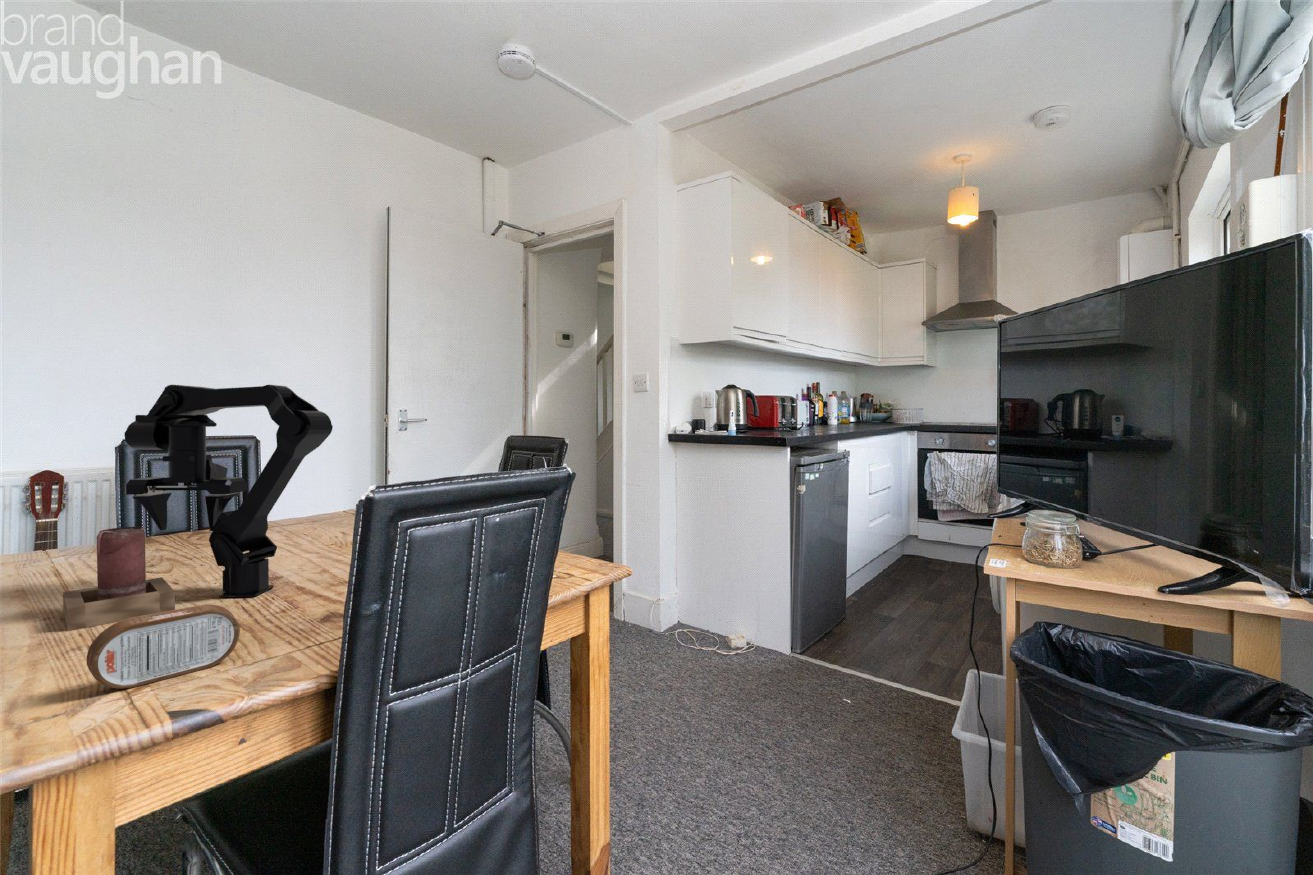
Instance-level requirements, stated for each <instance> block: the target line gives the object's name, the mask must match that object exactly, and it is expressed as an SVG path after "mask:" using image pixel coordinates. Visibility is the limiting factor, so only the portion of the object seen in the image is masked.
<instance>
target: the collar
mask: <svg viewBox="0 0 1313 875" xmlns="http://www.w3.org/2000/svg"><path fill="white" fill-rule="evenodd" d="M175 593H176V592H175V590H174V588H172V586H171V585H170V584H169V583H168V582H167V581H166V580H165V579H164V578H163V577H155V578H150V579H149V578H148V579H146V593H144V594H138V595H131V596H125V597H119V598H113V599H107V600H101V601H98V586H96V587H89V588H83V589H82V588H81V589H76V590H70V591H63V592H62V612H63V617H64V621H65V625H66V630H67V632H69V631H75V630H78V629H85V628H89V627H90V628H91V627H96V626H102V625H106V624H112V623H113V624H114V623H117V622H119V621H122V620H125V619H128V618H133V617H138V616H144V615H149V614H155V613H161V612H166V611H172V610H176V602H175V601H176V597H175V596H176V594H175Z"/></svg>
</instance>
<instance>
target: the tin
mask: <svg viewBox="0 0 1313 875" xmlns="http://www.w3.org/2000/svg"><path fill="white" fill-rule="evenodd" d="M240 634H241V629H240V624H239V621H238V620H237V619H236V617H235V615H234V614H233V613H232V612H231V611H230V610H229V609H227V608H226V607H224V606H222V605H219V604H200V605H194V606H189V607H183V608H178V609H175V610H172V611H166V612H161V613H155V614H149V615H144V616H138V617H133V618H128V619H125V620H122V621H118V622H114V623H113V624H112V625H110V626H108V627H107V628H105V629H104V630H102V631H101V632H100V633H99V634H98V635H97V636H96V637H95V639H94V640H93V641H92V643H91V644H90V646H89V648H88V651H87V653H86V667H87V669H88V671H89V673H91V675H92V676H93V678H94V679H95V680H96V681H97V682H98V683H99V684H101V685H104V686H106V687H108V688H113V689H120V690H121V689H132V688H137V687H140V686H144V685H148V684H151V683H155V682H159V681H163V680H168V679H171V678H176V677H179V676H183V675H188V674H191V673H195V672H198V671H202V670H206V669H210V668H212V667H214V666H216V665H218V664H220V663H221V662H222V661H224V660H225V659H226V658H227V657H228V656H229V655H230V654H232V653H233V651H234V650H235V648H236V646H237V644H238V642H239V638H240Z"/></svg>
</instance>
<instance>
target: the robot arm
mask: <svg viewBox="0 0 1313 875" xmlns="http://www.w3.org/2000/svg"><path fill="white" fill-rule="evenodd" d="M254 407H255V408H256V407H265V408H266V409H267V412H268V414H269V416H270V419H271V420H272V421H273V422H274V423H275V425H277V426H278V428H277V430H276V432H275V436H276V438H275V439H276V448H275V449H274V451H273V453H272V455H270V458H269V459H268V461H267V462H266V464H265V465H264V467H263V468H262V470H261V472H260V474H259V476H258V477H257V479H256V480H255V482H254V484H253V485H252V487H251V488H250V490H249V492H248V493H247V495H246V496H245V498H244V500H243V501H242V502H241V504H240V506H239V508H237V509H235V510H230V511H225V509H226V507H227V506H228V504H229V502H230V501H231V500H232V499H233V498H234V497H237V496H240V494H241V493H242V492H247V490H248V485H247V484H248V482H247V481H246V479H245V478H244V477H239V476H238V477H237V476H236V477H234V476H233V477H230V476H229V477H227V475H228V470H229V469H228V467H225V466H223V465H220V464H219V463H214V462H213V457H212V454H207V428H211V427H217V426H218V425H217V423H216V422H215V421H214V420H213V419H211V418H210V417H209V416H208V415H209V414H213V413H216V412H218V411H221V410H224V409H231V408H232V409H234V408H235V409H236V408H254ZM134 418H135V419H134V421H132V422H131V423H130V424H128V426H127V428H126V430H125V431H124V440H125V442H126V444H127V445H128V447H131V448H132V449H135V450H150V451H151V450H155V451H156V450H163V451H165V450H168V451H167V455H163V456H162V462H168V463H167V465H168V466H167V468H168V473H167V474H168V476H165V477H160V476H159V477H154V476H153V477H150V476H149V477H139V478H133V479H132V478H130V479H129V481H128V482H127V483H126V484H125V495H132V499H133V500H137V501H138V502H139V503H140V505H142V507H143V508H144V510H145V511H146V512H147V514H148V515H149V516H150V517H151V519H152V521H153V523H154V524H155V525H156V527H157V528H158V529H159V531H166V530H167V528H168V527H167V526H168V501H169V498H171V496H172V492H167V491H207V492H208V493H209V495H205V496H204V497H205V500H204V501H205V506H206V512H207V514H206V515H207V520H208V526H209V532H211V533H210V535H209V538H208V542H209V545H210V548H211V552H212V554H213V557H214V559H215V562H216V565H217V566H218V567H224V569H223V570H222V592H223V593H220V594H218V597H219V598H252V597H253V598H254V597H257V596H260V595H261V594H263V593H265V592H267V591H270V590H271V589H273V588H274V587H275V585H274V584H270V583H269V582H270V581H269V577H270V576H269V573H270V572H269V571H270V570H269V567H270V566H269V565H270V564H269V561H270V560H269V558H272V557H273V558H274V557H275V556H276V552H277V549H278V546H277V545H276V544H275V543H274V542H273V541H272V540H271V539H270V538H269V536H267V535H266V534H267V532H268V530H269V523H268V522H269V521H268V516H269V514H270V513H271V511H272V509H273V508H274V506H275V505H276V503H277V501H278V500H279V499H280V497H281V496H282V494H283V492H284V491H285V489H286V487H287V485H288V484H289V482H290V481H291V479H292V478H293V476H294V474H295V473H296V472H297V470H298V468H299V466H300V465H301V463H302V461H303V460H304V459H305V457H307V455H309V454H311V453H312V452H313V451H315V450H316V449H318V448H319V447H320V446H321V445H322V444H323V443H324V442H325V441H326V439H327V438H328V437H329V436H330V434H331V433H332V431H333V428H334V427H333V423H332V421H331V418H330V416H329V415H328V414H327V413H326V412H324V411H321V410H319V409H318V408H317V407H316V406H315V405H313V404H311V403H310V402H308V401H307V400H305V399H303V398H302V397H300V396H299V395H298V394H297V393H295V392H294V391H293V390H292V389H291V388H289V387H288V386H285V385H277V384H266V385H265V384H264V385H260V386H245V387H243V386H242V387H226V388H225V387H224V388H221V387H220V388H213V387H207V386H206V387H205V386H194V385H181V384H168V385H167V386H164V389H163V390H162V392H161V394H160V395H159V396H158V398H157V399H156V402H155V403H154V404H153V406H152V407H151V409H150V410H148V413H147V414H135V417H134ZM179 484H183V485H179Z"/></svg>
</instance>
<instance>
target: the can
mask: <svg viewBox="0 0 1313 875" xmlns="http://www.w3.org/2000/svg"><path fill="white" fill-rule="evenodd" d="M96 569H97V570H96V574H97V577H96V578H97V579H96V580H97V581H96V582H97V587H98V601H101V600H107V599H113V598H119V597H125V596H131V595H138V594H144V593H146V580H147V578H146V577H147V576H146V575H147V574H146V573H147V571H146V570H147V568H146V532H145V531H144V529H143V527H141V526H125V527H115V528H114V527H113V528H107V529H102V530H99V531H98V534H97V536H96Z"/></svg>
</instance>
